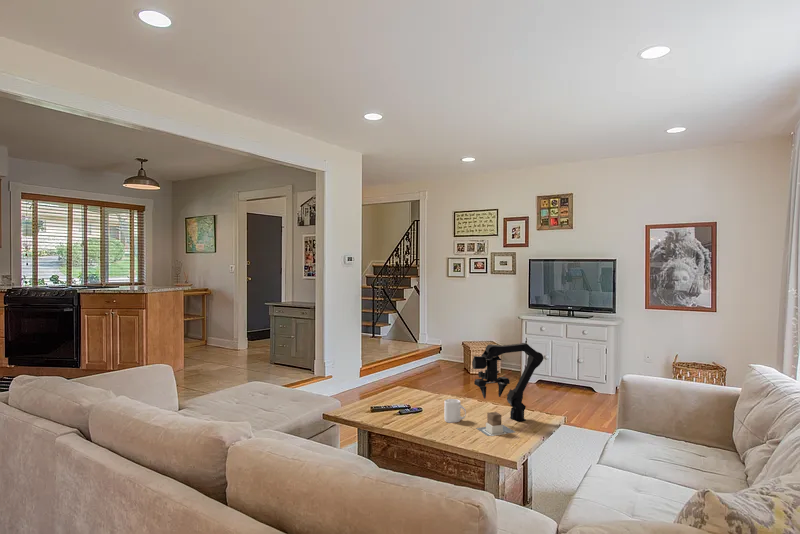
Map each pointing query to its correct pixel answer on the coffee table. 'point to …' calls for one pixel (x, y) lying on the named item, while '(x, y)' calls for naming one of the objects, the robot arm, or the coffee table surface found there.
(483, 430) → the grey flat rectangular panel
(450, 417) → the mug
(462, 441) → the coffee table surface
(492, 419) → the walnut cube
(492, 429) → the base block
